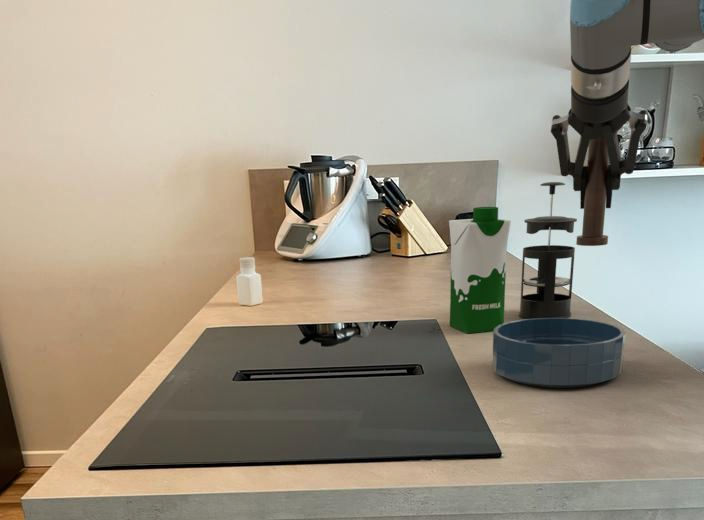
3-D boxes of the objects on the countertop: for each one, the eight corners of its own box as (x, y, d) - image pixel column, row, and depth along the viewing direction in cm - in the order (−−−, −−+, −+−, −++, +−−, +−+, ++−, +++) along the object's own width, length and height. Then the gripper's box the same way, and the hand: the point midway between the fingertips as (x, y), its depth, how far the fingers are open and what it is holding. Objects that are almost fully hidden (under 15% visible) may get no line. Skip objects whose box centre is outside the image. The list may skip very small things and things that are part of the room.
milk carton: (464, 335, 132) (467, 210, 124) (442, 325, 140) (443, 207, 132) (511, 330, 134) (517, 207, 126) (486, 320, 142) (490, 204, 134)
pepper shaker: (237, 305, 166) (233, 259, 162) (249, 302, 169) (246, 256, 165) (251, 306, 164) (247, 259, 160) (264, 303, 167) (260, 257, 163)
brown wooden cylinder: (605, 242, 128) (614, 134, 121) (609, 245, 123) (618, 134, 117) (575, 242, 129) (582, 136, 122) (577, 246, 124) (585, 136, 118)
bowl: (612, 358, 115) (616, 317, 112) (628, 392, 99) (633, 346, 97) (493, 357, 118) (494, 317, 116) (490, 390, 103) (492, 345, 100)
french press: (575, 321, 139) (586, 182, 130) (521, 322, 140) (528, 184, 131) (565, 308, 150) (574, 179, 141) (515, 309, 151) (521, 181, 142)
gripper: (535, 106, 107) (541, 221, 128) (662, 98, 102) (648, 219, 123) (541, 65, 110) (547, 184, 131) (666, 55, 105) (651, 181, 126)
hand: (596, 201), depth 127 cm, fingers closed on brown wooden cylinder, 3 cm apart
